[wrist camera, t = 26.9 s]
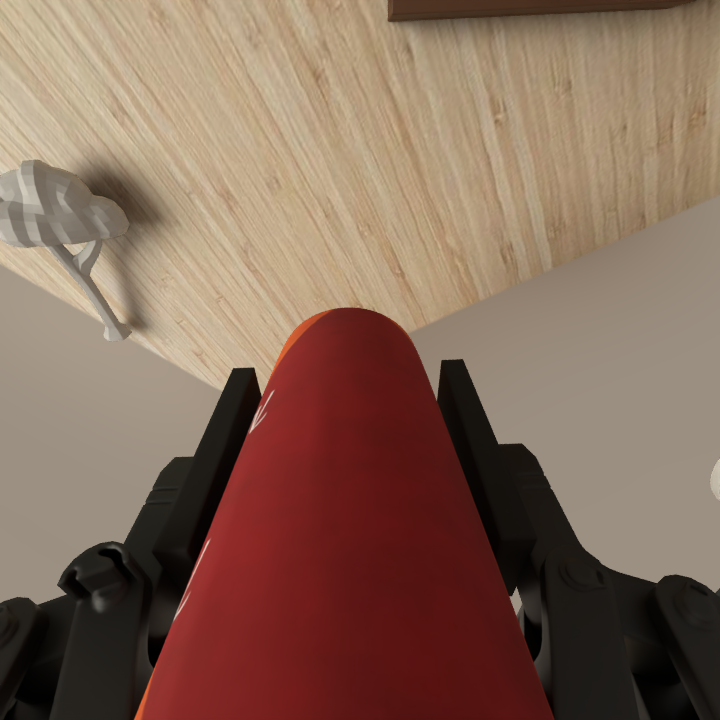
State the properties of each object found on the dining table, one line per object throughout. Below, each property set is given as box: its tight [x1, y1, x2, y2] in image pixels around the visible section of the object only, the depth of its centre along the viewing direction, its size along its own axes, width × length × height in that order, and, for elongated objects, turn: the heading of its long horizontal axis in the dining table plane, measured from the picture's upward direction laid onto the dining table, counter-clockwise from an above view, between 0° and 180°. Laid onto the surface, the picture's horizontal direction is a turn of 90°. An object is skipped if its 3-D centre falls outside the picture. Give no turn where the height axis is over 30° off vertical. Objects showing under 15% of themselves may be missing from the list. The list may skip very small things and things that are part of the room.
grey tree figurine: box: [0, 160, 132, 342], centre depth 24 cm, size 7×5×12 cm
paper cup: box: [134, 308, 554, 720], centre depth 9 cm, size 8×8×14 cm
